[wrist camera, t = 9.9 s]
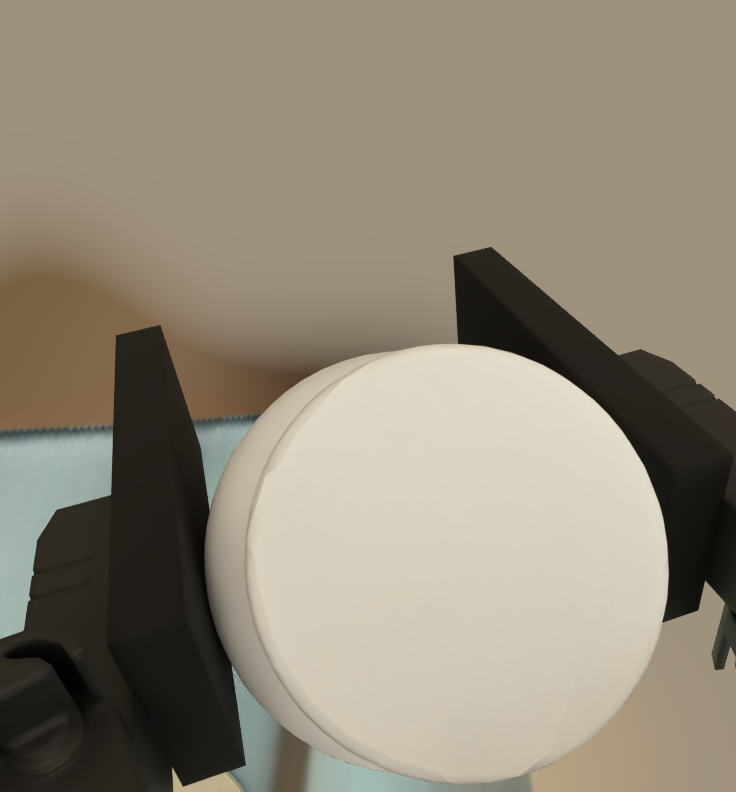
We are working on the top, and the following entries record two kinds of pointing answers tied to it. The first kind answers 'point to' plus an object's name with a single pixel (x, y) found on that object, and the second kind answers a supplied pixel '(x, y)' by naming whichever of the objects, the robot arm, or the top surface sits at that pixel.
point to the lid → (209, 784)
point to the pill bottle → (438, 563)
